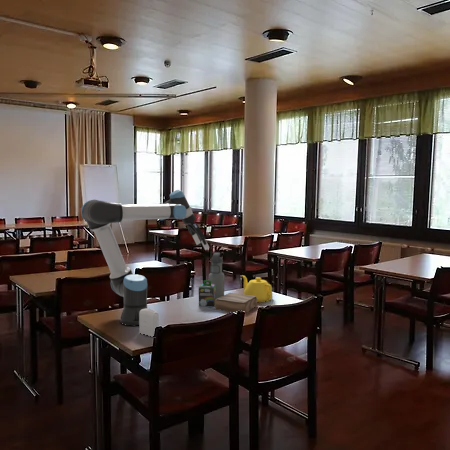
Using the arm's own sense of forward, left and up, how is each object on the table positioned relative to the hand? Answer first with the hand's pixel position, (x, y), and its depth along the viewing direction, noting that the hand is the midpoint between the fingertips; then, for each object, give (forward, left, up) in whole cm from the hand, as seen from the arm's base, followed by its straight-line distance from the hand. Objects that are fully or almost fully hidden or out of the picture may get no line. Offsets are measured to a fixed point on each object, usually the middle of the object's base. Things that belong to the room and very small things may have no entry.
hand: (203, 246), depth 268 cm
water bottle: (+17, 0, -34) cm, 38 cm away
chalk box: (0, -3, -35) cm, 35 cm away
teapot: (+27, -23, -35) cm, 49 cm away
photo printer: (-61, -6, -35) cm, 71 cm away
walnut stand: (+2, -21, -34) cm, 40 cm away
